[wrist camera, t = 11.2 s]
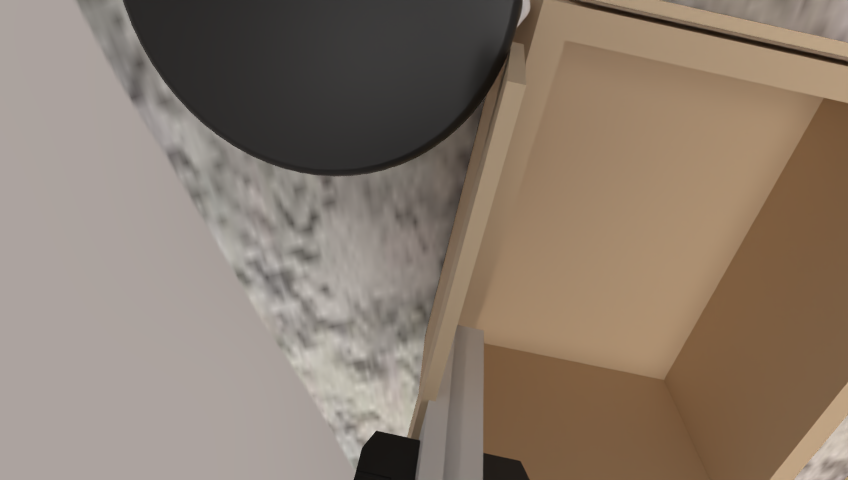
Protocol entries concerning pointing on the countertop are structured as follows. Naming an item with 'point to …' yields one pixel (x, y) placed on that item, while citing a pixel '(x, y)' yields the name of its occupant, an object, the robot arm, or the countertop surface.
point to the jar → (329, 73)
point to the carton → (663, 248)
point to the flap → (473, 227)
